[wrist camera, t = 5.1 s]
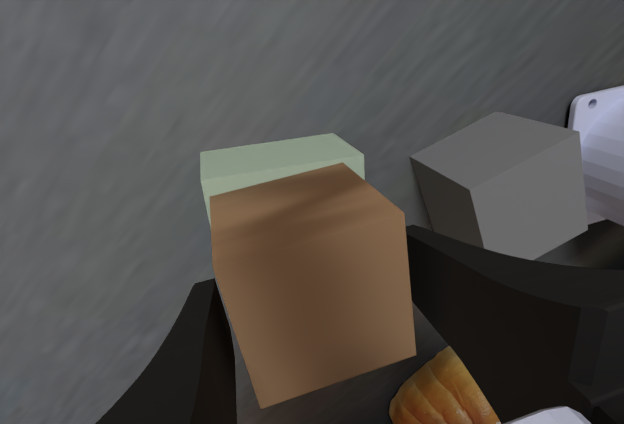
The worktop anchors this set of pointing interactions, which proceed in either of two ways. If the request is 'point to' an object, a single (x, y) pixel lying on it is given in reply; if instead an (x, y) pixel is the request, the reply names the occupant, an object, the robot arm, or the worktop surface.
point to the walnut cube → (313, 279)
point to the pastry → (441, 395)
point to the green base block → (273, 162)
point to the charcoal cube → (505, 185)
